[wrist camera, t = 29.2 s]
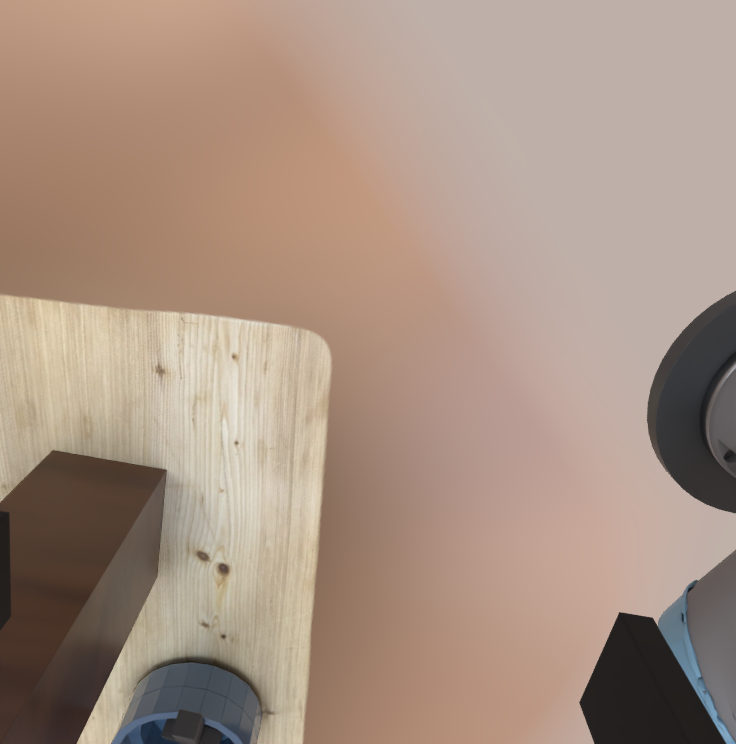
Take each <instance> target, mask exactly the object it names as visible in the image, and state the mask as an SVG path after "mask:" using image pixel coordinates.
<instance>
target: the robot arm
mask: <svg viewBox="0 0 736 744" xmlns="http://www.w3.org/2000/svg"><path fill="white" fill-rule="evenodd" d="M700 429H701V434H702V438H703V441H704V444H705V446H706V448H707V450H708V451H709V453H710V455H711V456H712V457H713V458H714V460H716V461H717V462H718V463H719V464H720V465H721V466H722V467H723V468H724V469H725V470H726V471H727V472H728V473H730V474H731V475H732V476H733V477H735V478H736V352H735V353H734V354H733V355H732V356H731V357H730V358H729V359H728V360H727V361H726V362H725V363H724V364H723V366H722V367H721V368H720V369H719V371H718V372H717V373H716V375H715V376H714V378H713V379H712V381H711V383H710V385H709V387H708V389H707V391H706V394H705V396H704V399H703V403H702V407H701V413H700ZM10 617H11V570H10V516H9V512H5V511H0V630H1V629H2V628H3V626H4V625H5V624H6V622H7V621H8V620H9V618H10ZM579 703H580V705H581V708H582V711H583V714H584V716H585V719H586V722H587V725H588V727H589V730H590V732H591V735H592V738H593V741H594V744H736V550H735V551H734V552H733V553H732V554H730V555H729V556H728V557H727V558H725V559H724V560H723V561H722V562H721V563H719V564H718V565H717V566H716V567H715V568H713V569H712V570H711V571H710V572H709V573H708V574H706V575H705V576H704V577H702V578H701V579H700V580H699V581H697V580H695V581H693V582H692V583H690V584H689V585H688V586H687V587H686V589H685V591H684V593H683V595H682V596H681V597H680V598H678V599H677V600H676V601H675V602H674V603H673V604H672V605H671V606H670V607H669V608H668V609H667V610H666V611H664V613H663V614H662V615H661V617H660V618H659V621H658V626H657V624H656V623H655V621H654V619H653V618H651V617H645V616H639V615H633V614H627V613H620V612H619V615H618V617H617V619H616V621H615V624H614V626H613V628H612V630H611V633H610V635H609V637H608V640H607V642H606V644H605V646H604V649H603V651H602V653H601V655H600V657H599V660H598V662H597V664H596V666H595V669H594V671H593V673H592V676H591V678H590V680H589V682H588V684H587V687H586V689H585V691H584V694H583V696H582V698H581V700H580V702H579Z"/></svg>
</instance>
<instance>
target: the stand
mask: <svg viewBox="0 0 736 744" xmlns="http://www.w3.org/2000/svg"><path fill="white" fill-rule="evenodd" d="M166 471H167V470H163V469H157V468H152V467H146V466H140V465H134V464H128V463H122V462H117V461H111V460H105V459H99V458H93V457H87V456H82V455H76V454H70V453H64V452H58V451H52V452H51V453H50V454H49V455H48V456H47V457H46V458H45V459H44V460H43V461H42V462H41V463H40V464H39V465H38V466H36V467H35V468H34V469H33V470H32V471H31V472H30V473H29V474H28V475H27V476H26V477H25V478H24V479H23V480H22V481H21V482H20V483H19V484H18V485H17V486H16V487H15V488H14V489H13V490H12V491H11V492H10V493H9V494H8V495H7V496H6V497H5V498H4V499H3V500H2V501H1V502H0V511H5V512H9V516H10V570H11V617H10V618H9V620H8V621H7V622H6V624H5V625H4V626H3V628H2V629H1V630H0V744H77V741H78V739H79V737H80V735H81V733H82V731H83V729H84V727H85V725H86V723H87V721H88V719H89V717H90V715H91V712H92V710H93V708H94V706H95V704H96V702H97V700H98V698H99V696H100V694H101V692H102V690H103V688H104V686H105V683H106V681H107V679H108V677H109V675H110V673H111V671H112V669H113V667H114V665H115V663H116V661H117V659H118V657H119V655H120V652H121V650H122V648H123V646H124V644H125V642H126V640H127V638H128V636H129V634H130V632H131V630H132V628H133V626H134V623H135V621H136V619H137V617H138V615H139V613H140V611H141V609H142V607H143V605H144V603H145V601H146V599H147V597H148V594H149V592H150V590H151V588H152V586H153V584H154V582H155V580H156V578H157V571H158V560H159V549H160V538H161V527H162V516H163V505H164V493H165V482H166Z"/></svg>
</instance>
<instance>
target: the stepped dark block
mask: <svg viewBox="0 0 736 744" xmlns="http://www.w3.org/2000/svg"><path fill="white" fill-rule="evenodd" d="M161 736H162V737H163V738H164V739H166V740H167V741H171V742H175V743H179V744H221V740H222V737H223V733H221V732H220V731H219V730H217V729H215V728H211V727H207V726H204V723H203V718H202V715H201V714H199V713H194V712H190V711H186V710H182V709H179V712H178V715H177V718H176V719H174V718H171V719H166V722H165V725H164V728H163V731H162V734H161Z"/></svg>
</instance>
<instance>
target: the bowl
mask: <svg viewBox="0 0 736 744" xmlns="http://www.w3.org/2000/svg"><path fill="white" fill-rule="evenodd" d="M179 709H182V710H186V711H190V712H194V713H199V714H201V715H202V718H203V723H204V726H207V727H211V728H215V729H217V730H219V731H220V732H221V733H223V737H222V740H221V744H257V740H258V734H259V729H260V724H261V718H262V712H261V708H260V704H259V700H258V698H257V697H256V695H255V694H254V692H253V691H252V690H251V688H250V687H249V685H248V684H246V683H245V682H244V681H242V680H241V679H240V678H238V677H237V676H236V675H234V674H232V673H231V672H228V671H226V670H223V669H221V668H218V667H216V666H213V665H207V664H201V663H194V662H190V663H178V664H170V665H167V666H165V667H162V668H159V669H156V670H154V671H152V672H151V673H150V674H148V675H147V676H146V677H145V678H143V679H142V680H141V681H140V682H139V683H138V685H137V686H136V688H135V690H134V692H133V693H132V695H131V698H130V700H129V702H128V705H127V707H126V709H125V712H124V714H123V716H122V719H121V721H120V723H119V726H118V728H117V731H116V733H115V735H114V738H113V740H112V742H111V744H179V743H175V742H171V741H167V740H166V739H164V738H163V737H162V736H161V734H162V731H163V728H164V725H165V722H166V719H171V718H174V719H176V718H177V715H178V712H179Z"/></svg>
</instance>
